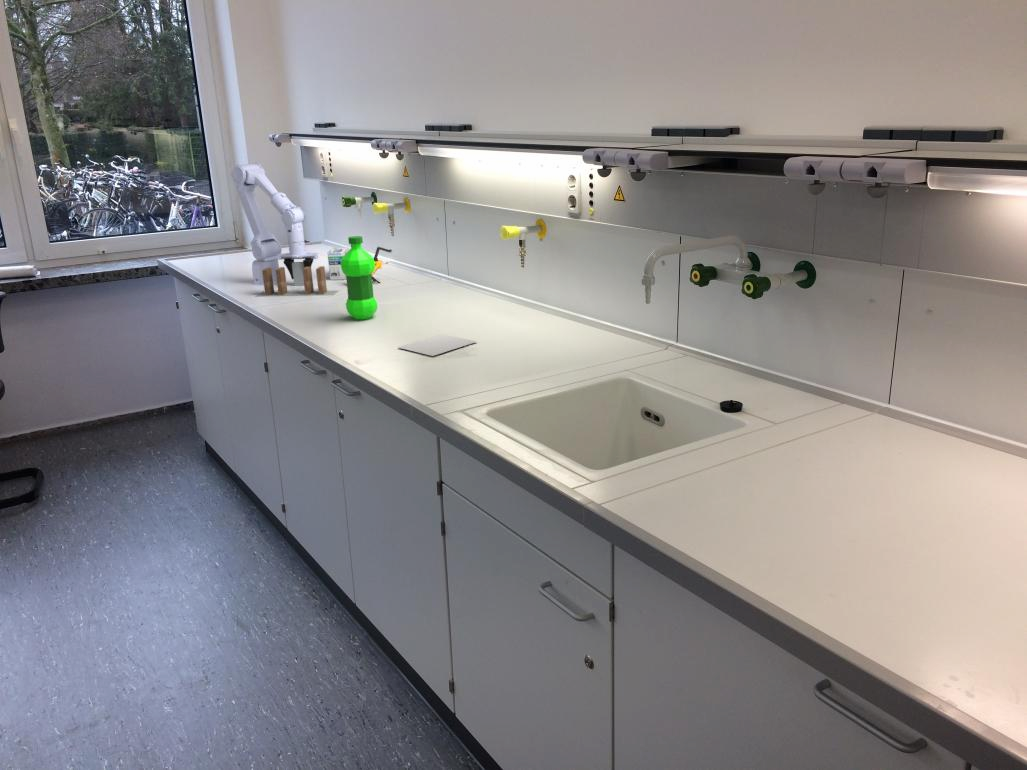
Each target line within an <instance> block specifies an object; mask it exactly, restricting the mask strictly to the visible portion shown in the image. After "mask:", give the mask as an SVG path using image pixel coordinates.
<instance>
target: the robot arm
mask: <svg viewBox="0 0 1027 770" xmlns="http://www.w3.org/2000/svg"><path fill="white" fill-rule="evenodd" d="M231 176H232V179H233V182H234V184H235V188H236V192H237V195H238V197H239V200H240V202H241V205H242V208H243V210H244V213H245V216H246V218H247V221H248V224H249V227H250V229H251V231H252V235H253V238H252V240H250V246H251V252H252V256H253V257H254V258H255V260H253V261H252V263H251V271H252V278H253V284H252V285H256V286H257V285H258V286H259V285H263V286H264V281H263V273H262V270H263V269H265V268H271V269H272V277H273V285H277V278H276V269H278V268H280V265H279V261H282V260H283V265H284V266H285V268H286V269H287V271H288V272H289V275H290V279H291V280H294V278H293V270H292V262H295V260H302V262H303V263H304V267H311V268H312V265H313V262H314V260H318V259H319V253H318V252H306V246H305V245H306V244H305V234H304V225H303V223H304V221H305V219H306V214H305V211H304V210H303V208H302V207H300V206H297V205H294V203H292V201H291V199H289V198H288V197H287V194H285V193H284V192H279V191H278V190H277V189H276V188H275V186H274V184H272V182H271V180H269V178H268V177H267V176H266V171H265V169H264V168H263V167H262V165H261V164H260V163H257V162H254V163H249V164H248V163H247V164H236V165H235V166H234V167H233V169H232V172H231ZM256 187H258V188H259V189H261V190H262V191H263V192H264V193H265V194H266V195H267V196H268V197H269V198H270V204H271V205H272V206H273V207H274V208H275V209H276V210H277V212H278V213H279V214H280V215H281V220H282V222H283V224H284V228H285V230H286V233H287V234H286V235H287V244H288V250H289V251H288V252H286V253H282V252H283V251H282V249H283V248H282V245H281V243H280V242H279V241H278V239H277V238H276V235H274V234H272V233H271V232H270V231H269V230H268V226H267V224H266V222H265V219H264V216H263V214H262V211H261V208H260V206H259V203H258V201H257V197H256V194H255V189H256Z"/></svg>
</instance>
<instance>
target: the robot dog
mask: <svg viewBox="0 0 1027 770" xmlns="http://www.w3.org/2000/svg"><path fill="white" fill-rule="evenodd" d="M380 250H381V251H383V252H387V253H392V252H393V250H392V249H388V248H384V247H381V246H377V247H376V250H375V253H374V256H373V259H374V261H375V270H374V272H373V273H372V282H375V283H377V284H381V282H380V281H379V280H377V279H376V278H375V277H374V274H375V273H376V272H377V271H378V270H379V269H381V270H382V268H383V260H381V259H379V258H378V257H379V253H380ZM345 276H346V275H345Z"/></svg>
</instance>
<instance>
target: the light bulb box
mask: <svg viewBox="0 0 1027 770" xmlns="http://www.w3.org/2000/svg"><path fill="white" fill-rule="evenodd" d="M349 250H350V249H349V247H331V248H330V249H329V250H328V251H327V260H328V262H327V263H328V269H329V279H330V281H339V280H340V281H344V280H345V281H346V276H345V274H344V273H343V272H342V269H341V259H342V257H343V256H344V255H345V254H346V253H347V252H348V251H349Z"/></svg>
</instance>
